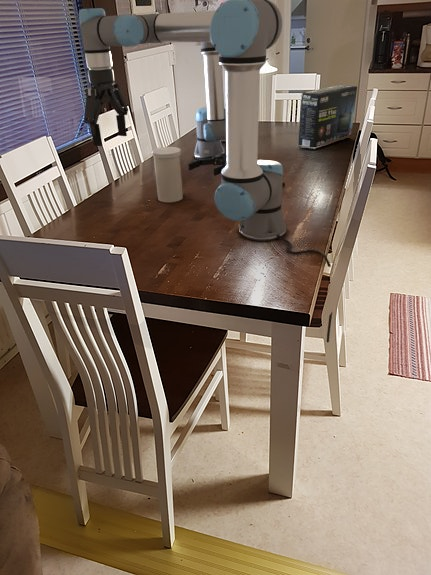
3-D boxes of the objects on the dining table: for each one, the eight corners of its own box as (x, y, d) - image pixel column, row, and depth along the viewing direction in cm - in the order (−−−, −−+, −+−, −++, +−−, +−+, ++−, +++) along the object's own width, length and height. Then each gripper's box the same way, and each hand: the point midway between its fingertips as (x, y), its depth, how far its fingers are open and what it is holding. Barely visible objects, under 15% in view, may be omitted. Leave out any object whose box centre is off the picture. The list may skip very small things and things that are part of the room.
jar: (186, 194, 183) (183, 148, 174) (178, 203, 175) (174, 155, 166) (163, 192, 186) (158, 147, 177) (154, 201, 178) (148, 154, 168)
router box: (314, 151, 231) (318, 94, 217) (296, 148, 237) (299, 92, 224) (352, 138, 251) (358, 85, 238) (335, 135, 258) (340, 83, 245)
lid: (184, 151, 175) (184, 147, 174) (175, 159, 166) (174, 154, 165) (158, 150, 178) (158, 146, 177) (147, 158, 169) (147, 153, 168)
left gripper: (255, 170, 198) (225, 183, 184) (210, 161, 212) (179, 173, 198) (255, 152, 194) (225, 165, 180) (210, 145, 208) (178, 156, 194)
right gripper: (113, 64, 149) (123, 131, 160) (62, 73, 130) (76, 149, 140) (133, 64, 146) (141, 132, 157) (83, 73, 127) (96, 151, 138)
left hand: (201, 169), depth 189 cm, fingers open, 13 cm apart
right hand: (110, 140), depth 149 cm, fingers open, 13 cm apart
